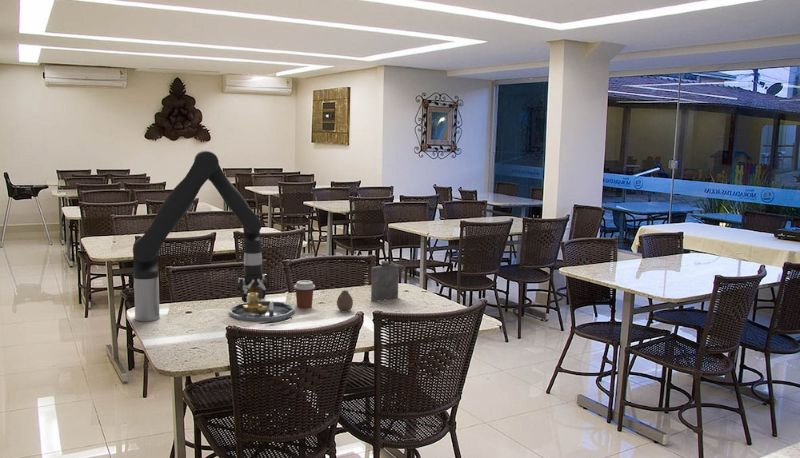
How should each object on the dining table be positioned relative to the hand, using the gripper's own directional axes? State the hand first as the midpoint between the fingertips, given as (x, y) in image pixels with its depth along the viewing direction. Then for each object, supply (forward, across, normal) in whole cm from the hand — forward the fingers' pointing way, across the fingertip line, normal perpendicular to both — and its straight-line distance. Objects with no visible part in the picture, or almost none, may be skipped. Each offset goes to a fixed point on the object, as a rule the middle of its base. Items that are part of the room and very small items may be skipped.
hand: (253, 300), depth 278 cm
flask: (+6, -58, +19) cm, 61 cm away
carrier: (+5, 0, +7) cm, 9 cm away
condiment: (+5, -10, -15) cm, 19 cm away
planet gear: (+4, 0, 0) cm, 4 cm away
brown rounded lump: (+6, -31, +23) cm, 39 cm away
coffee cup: (+5, -19, +10) cm, 22 cm away
